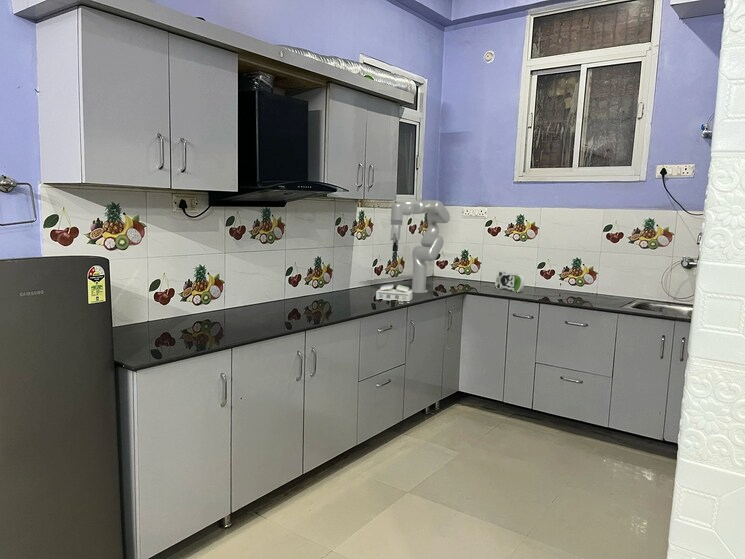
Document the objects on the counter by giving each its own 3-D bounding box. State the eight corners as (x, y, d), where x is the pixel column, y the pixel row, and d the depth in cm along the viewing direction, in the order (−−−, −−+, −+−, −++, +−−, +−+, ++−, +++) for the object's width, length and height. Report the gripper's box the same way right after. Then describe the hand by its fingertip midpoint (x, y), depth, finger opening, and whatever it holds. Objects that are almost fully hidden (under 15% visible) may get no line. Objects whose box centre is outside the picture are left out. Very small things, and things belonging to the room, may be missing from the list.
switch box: (379, 296, 359) (380, 287, 358) (412, 298, 355) (412, 289, 354) (375, 299, 346) (376, 290, 345) (409, 302, 342) (409, 292, 341)
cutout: (495, 270, 413) (522, 272, 393) (497, 270, 415) (524, 272, 394) (494, 290, 414) (521, 293, 394) (497, 290, 416) (524, 293, 396)
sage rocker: (397, 287, 352) (398, 284, 352) (408, 290, 351) (409, 287, 351) (396, 289, 346) (397, 285, 346) (407, 291, 345) (407, 288, 345)
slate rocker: (382, 288, 354) (382, 285, 354) (393, 287, 353) (393, 284, 353) (381, 290, 349) (380, 286, 348) (391, 288, 347) (391, 285, 347)
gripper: (392, 222, 364) (391, 250, 367) (388, 222, 350) (387, 251, 352) (404, 222, 363) (402, 250, 365) (400, 223, 348) (399, 252, 351)
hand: (395, 251), depth 359 cm, fingers closed
